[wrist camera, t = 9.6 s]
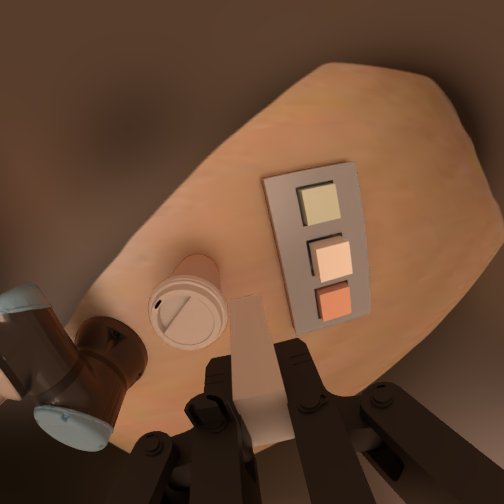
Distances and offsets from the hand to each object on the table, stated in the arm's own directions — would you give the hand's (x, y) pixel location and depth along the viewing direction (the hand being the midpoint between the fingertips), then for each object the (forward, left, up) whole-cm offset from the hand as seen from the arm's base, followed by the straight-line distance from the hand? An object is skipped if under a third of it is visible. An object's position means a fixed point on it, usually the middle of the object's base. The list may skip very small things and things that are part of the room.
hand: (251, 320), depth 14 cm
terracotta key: (+12, -16, -28) cm, 35 cm away
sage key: (+12, 0, -28) cm, 31 cm away
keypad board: (+12, -8, -29) cm, 33 cm away
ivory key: (+12, -8, -26) cm, 30 cm away
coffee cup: (-8, -7, -30) cm, 31 cm away
